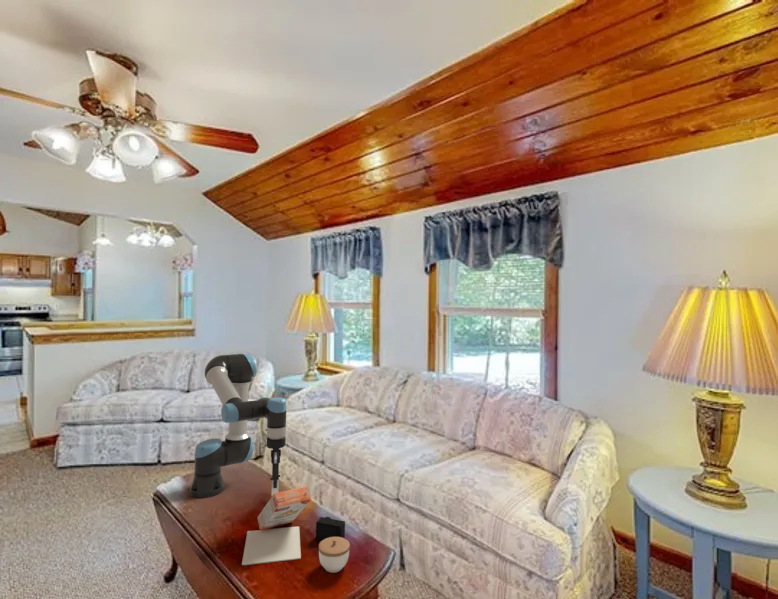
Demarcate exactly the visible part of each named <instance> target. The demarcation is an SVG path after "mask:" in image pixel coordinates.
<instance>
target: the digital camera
mask: <svg viewBox="0 0 778 599" xmlns="http://www.w3.org/2000/svg"><path fill="white" fill-rule="evenodd" d="M315 523H316V524H315V541H319V542H321V541H322V540H324V539H326V538H329V537H342V538H345V534H346V532H345V531H346V521H345V520H339V519H334V518H331V517H329V516H325V517H323V516H321V517H319V519H318V520H317V521H316V522H315ZM345 539H346V538H345Z"/></svg>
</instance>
